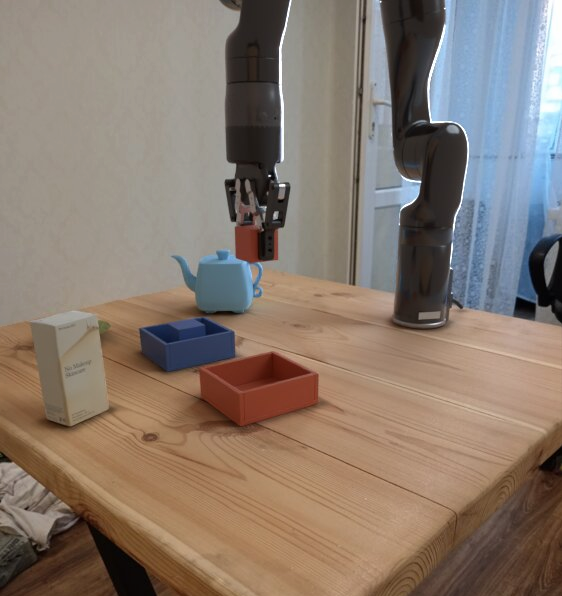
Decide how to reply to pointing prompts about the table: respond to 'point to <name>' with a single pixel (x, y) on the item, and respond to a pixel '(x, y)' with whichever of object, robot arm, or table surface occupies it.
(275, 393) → the red bin
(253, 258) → the red block
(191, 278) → the teapot
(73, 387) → the cosmetic box
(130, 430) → the table surface
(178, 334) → the blue block
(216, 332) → the blue bin
